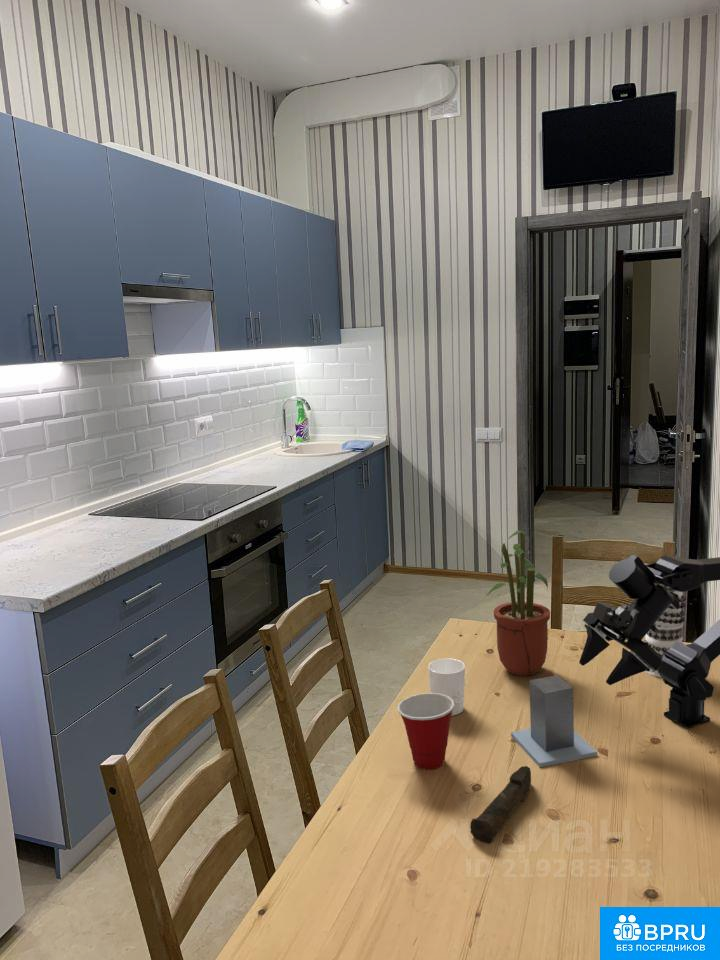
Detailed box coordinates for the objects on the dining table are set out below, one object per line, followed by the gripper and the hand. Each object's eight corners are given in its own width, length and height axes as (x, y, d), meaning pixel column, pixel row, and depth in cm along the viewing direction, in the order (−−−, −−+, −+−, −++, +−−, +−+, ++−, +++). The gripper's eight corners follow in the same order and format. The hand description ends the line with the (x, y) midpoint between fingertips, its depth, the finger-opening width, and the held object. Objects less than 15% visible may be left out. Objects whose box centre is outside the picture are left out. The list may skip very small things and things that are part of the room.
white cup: (425, 714, 162) (423, 671, 160) (435, 698, 169) (434, 656, 168) (461, 720, 159) (459, 675, 157) (470, 703, 166) (468, 660, 165)
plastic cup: (418, 741, 152) (415, 685, 150) (466, 755, 145) (464, 697, 143) (388, 766, 143) (385, 708, 141) (438, 783, 137) (436, 722, 135)
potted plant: (556, 681, 174) (555, 534, 168) (489, 684, 175) (485, 537, 168) (539, 650, 192) (538, 516, 185) (478, 653, 192) (475, 519, 186)
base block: (564, 728, 155) (564, 708, 154) (597, 758, 143) (597, 737, 143) (511, 739, 152) (510, 718, 151) (539, 770, 140) (539, 748, 140)
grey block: (557, 731, 151) (557, 675, 149) (574, 745, 145) (573, 687, 143) (530, 736, 149) (529, 680, 147) (545, 752, 144) (544, 693, 142)
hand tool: (491, 848, 119) (491, 822, 118) (469, 838, 122) (469, 812, 121) (544, 790, 134) (544, 767, 133) (523, 783, 136) (523, 759, 135)
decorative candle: (637, 673, 176) (638, 570, 171) (647, 659, 183) (649, 560, 179) (678, 682, 171) (681, 576, 166) (687, 666, 178) (690, 564, 174)
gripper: (591, 574, 154) (543, 633, 153) (649, 603, 136) (595, 670, 135) (624, 605, 157) (577, 663, 157) (685, 637, 140) (632, 703, 139)
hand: (593, 673), depth 147 cm, fingers open, 9 cm apart
